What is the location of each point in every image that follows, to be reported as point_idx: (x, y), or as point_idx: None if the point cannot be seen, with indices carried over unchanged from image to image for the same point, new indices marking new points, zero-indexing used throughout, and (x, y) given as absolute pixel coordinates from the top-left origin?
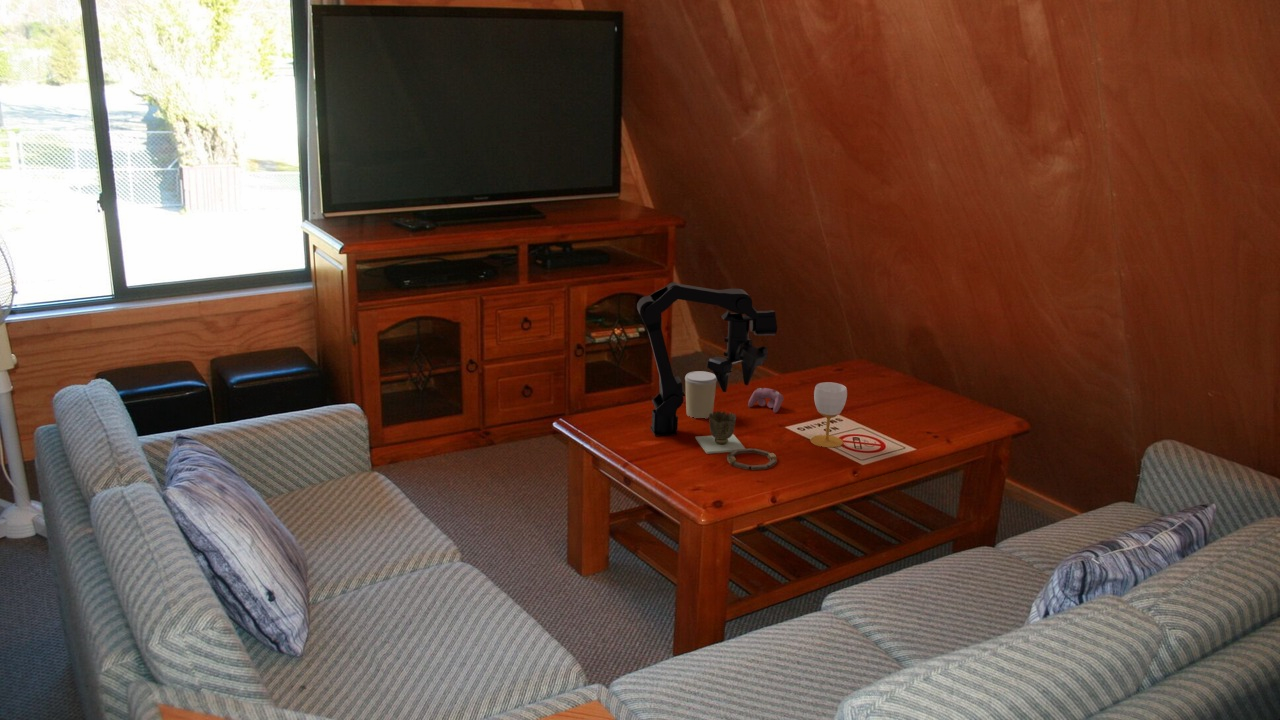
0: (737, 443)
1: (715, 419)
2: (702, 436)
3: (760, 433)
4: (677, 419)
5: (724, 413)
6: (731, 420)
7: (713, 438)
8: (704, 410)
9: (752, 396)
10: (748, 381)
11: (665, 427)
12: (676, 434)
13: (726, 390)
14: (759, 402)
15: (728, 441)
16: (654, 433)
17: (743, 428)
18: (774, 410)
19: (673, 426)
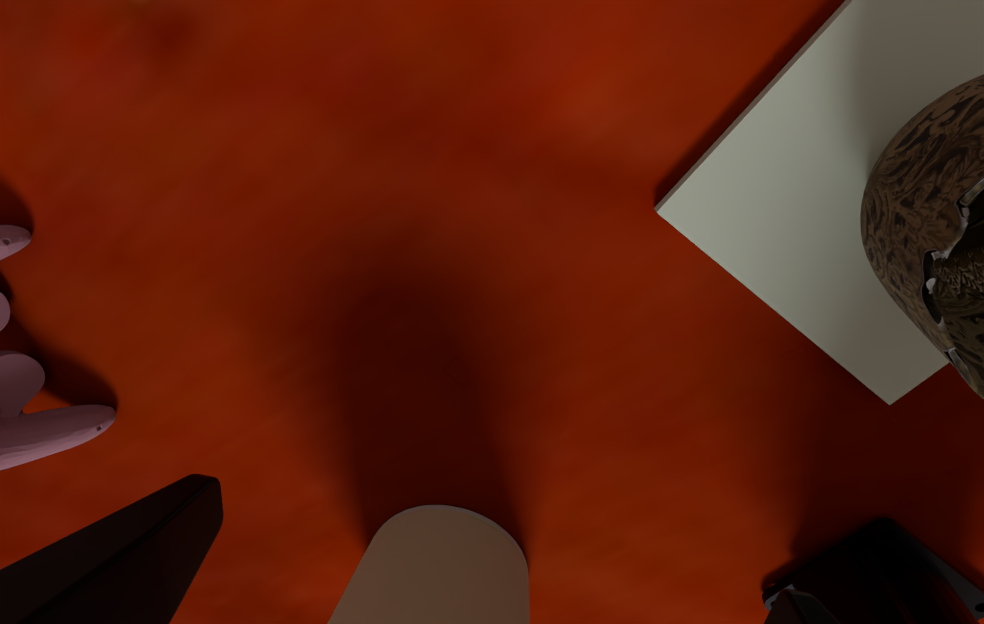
0: (858, 45)
1: (973, 354)
2: (858, 368)
3: (442, 62)
4: (888, 619)
5: (939, 318)
6: (933, 181)
7: (853, 283)
8: (487, 564)
9: (27, 451)
10: (155, 519)
11: (971, 614)
12: (891, 520)
13: (797, 611)
14: (23, 389)
15: (854, 144)
16: (978, 619)
17: (450, 238)
18: (19, 237)
19: (892, 586)
